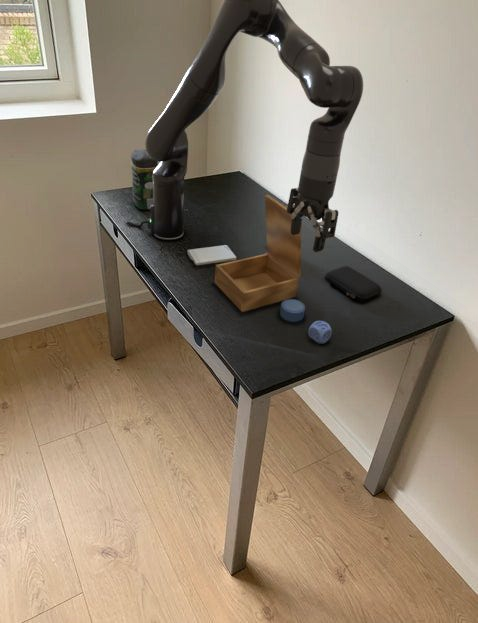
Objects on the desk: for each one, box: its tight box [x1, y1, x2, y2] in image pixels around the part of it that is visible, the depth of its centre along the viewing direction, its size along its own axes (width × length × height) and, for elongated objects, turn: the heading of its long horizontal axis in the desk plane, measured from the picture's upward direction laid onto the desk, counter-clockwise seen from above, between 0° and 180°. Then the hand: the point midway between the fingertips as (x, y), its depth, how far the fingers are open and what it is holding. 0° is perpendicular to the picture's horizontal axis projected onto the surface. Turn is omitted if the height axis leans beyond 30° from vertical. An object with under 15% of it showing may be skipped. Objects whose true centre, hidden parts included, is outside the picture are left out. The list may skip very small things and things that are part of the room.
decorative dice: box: [307, 320, 333, 345], centre depth 114 cm, size 4×4×4 cm
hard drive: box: [186, 244, 238, 266], centre depth 142 cm, size 2×8×12 cm
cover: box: [264, 194, 303, 279], centre depth 124 cm, size 17×15×5 cm
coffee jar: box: [130, 148, 159, 211], centre depth 162 cm, size 10×8×19 cm
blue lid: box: [279, 298, 306, 323], centre depth 121 cm, size 6×6×4 cm
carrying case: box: [325, 265, 383, 302], centre depth 134 cm, size 11×3×15 cm
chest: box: [214, 253, 300, 313], centre depth 128 cm, size 17×15×6 cm
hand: (305, 242), depth 109 cm, fingers open, 8 cm apart
